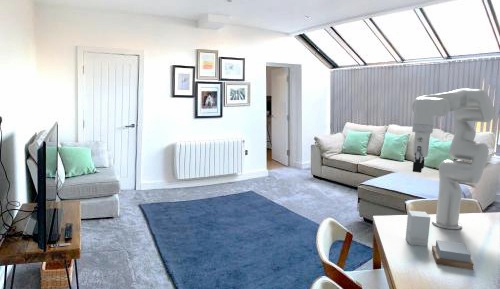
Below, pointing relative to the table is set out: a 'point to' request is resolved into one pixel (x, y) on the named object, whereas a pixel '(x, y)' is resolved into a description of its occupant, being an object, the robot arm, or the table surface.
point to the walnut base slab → (451, 261)
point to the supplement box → (417, 228)
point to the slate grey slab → (453, 251)
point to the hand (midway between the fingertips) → (418, 170)
